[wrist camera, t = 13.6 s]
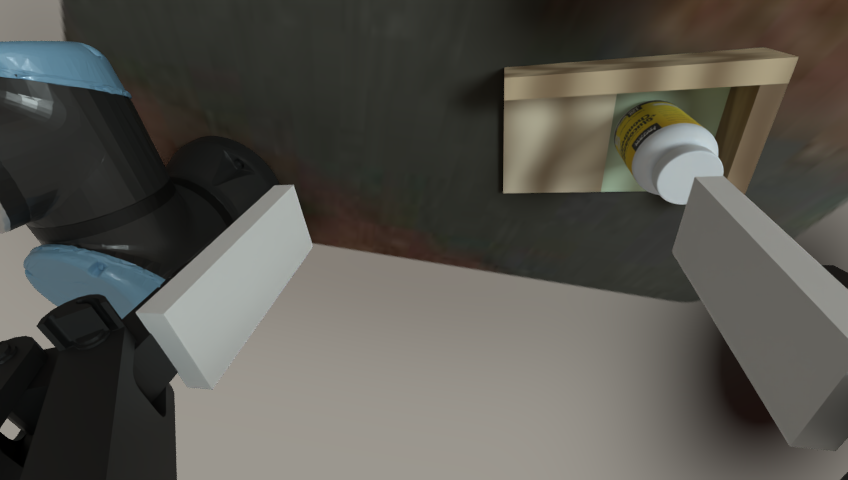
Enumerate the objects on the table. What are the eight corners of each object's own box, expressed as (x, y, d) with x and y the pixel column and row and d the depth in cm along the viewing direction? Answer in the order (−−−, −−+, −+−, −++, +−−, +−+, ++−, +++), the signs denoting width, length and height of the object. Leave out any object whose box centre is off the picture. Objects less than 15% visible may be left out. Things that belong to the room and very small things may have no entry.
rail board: (503, 190, 47) (503, 211, 43) (504, 67, 40) (504, 78, 35) (716, 187, 43) (738, 210, 39) (764, 47, 35) (798, 56, 31)
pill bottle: (649, 84, 38) (697, 121, 28) (697, 122, 39) (759, 169, 29) (598, 138, 41) (626, 186, 32) (643, 171, 42) (683, 227, 33)
